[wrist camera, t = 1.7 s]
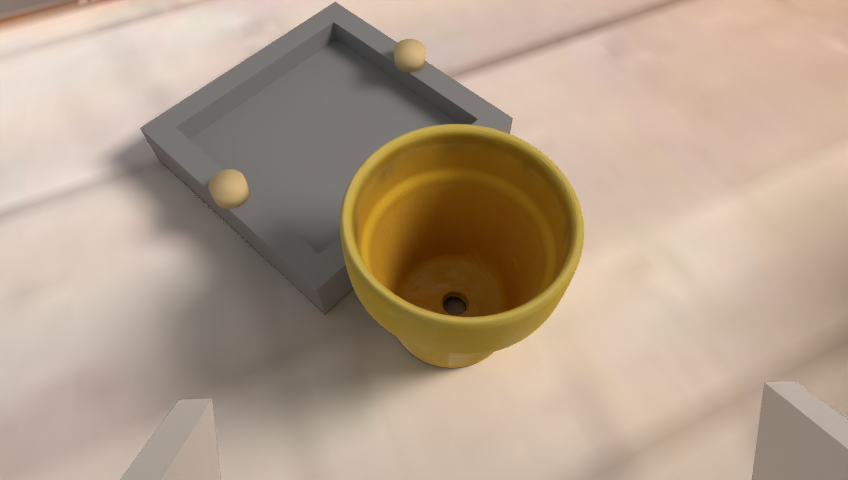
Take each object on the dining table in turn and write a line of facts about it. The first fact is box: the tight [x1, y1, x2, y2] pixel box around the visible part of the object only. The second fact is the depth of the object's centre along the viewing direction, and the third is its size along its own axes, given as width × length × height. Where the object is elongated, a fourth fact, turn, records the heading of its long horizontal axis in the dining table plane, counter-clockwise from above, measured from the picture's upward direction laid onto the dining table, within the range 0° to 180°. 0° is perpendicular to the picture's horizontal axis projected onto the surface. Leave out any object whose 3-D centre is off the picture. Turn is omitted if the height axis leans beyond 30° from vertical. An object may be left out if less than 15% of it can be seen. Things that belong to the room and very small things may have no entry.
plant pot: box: [340, 124, 584, 368], centre depth 30 cm, size 10×10×10 cm
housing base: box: [140, 2, 513, 314], centre depth 38 cm, size 16×16×4 cm
